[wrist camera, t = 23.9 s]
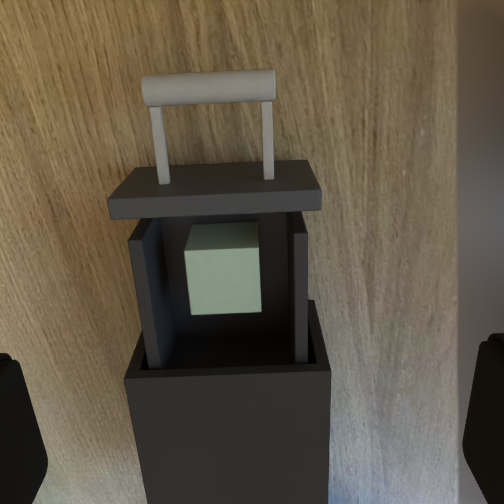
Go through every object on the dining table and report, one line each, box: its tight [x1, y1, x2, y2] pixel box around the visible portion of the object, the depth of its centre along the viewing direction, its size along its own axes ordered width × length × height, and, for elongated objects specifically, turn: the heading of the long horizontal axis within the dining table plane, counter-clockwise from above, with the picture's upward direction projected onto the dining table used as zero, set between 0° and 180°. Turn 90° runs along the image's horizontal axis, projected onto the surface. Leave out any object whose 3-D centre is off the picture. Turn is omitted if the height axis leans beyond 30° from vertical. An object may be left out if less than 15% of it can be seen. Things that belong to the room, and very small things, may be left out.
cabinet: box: [124, 300, 331, 504], centre depth 36 cm, size 15×13×9 cm
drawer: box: [107, 69, 322, 370], centre depth 30 cm, size 19×11×7 cm, turn 3°
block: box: [184, 222, 262, 315], centre depth 31 cm, size 4×4×4 cm
